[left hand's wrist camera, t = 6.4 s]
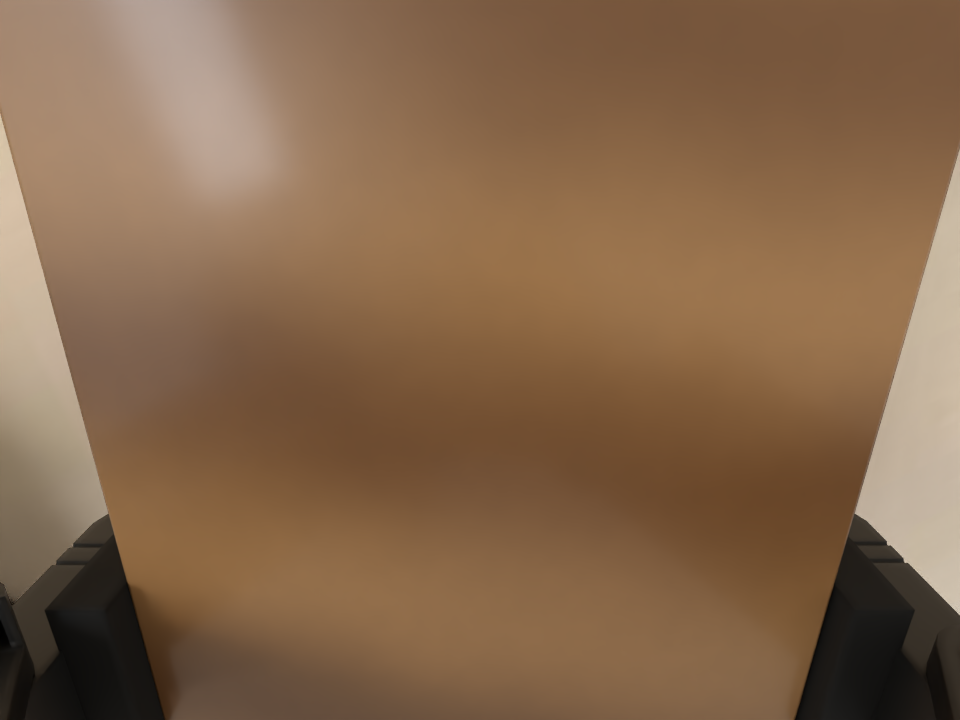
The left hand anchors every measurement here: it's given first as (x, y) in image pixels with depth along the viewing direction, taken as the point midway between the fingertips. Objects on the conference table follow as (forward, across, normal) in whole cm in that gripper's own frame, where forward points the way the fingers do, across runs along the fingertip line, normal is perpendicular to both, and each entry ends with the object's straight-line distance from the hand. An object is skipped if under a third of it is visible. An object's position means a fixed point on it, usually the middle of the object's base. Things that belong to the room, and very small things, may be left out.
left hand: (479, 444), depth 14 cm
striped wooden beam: (+1, 0, -25) cm, 25 cm away
